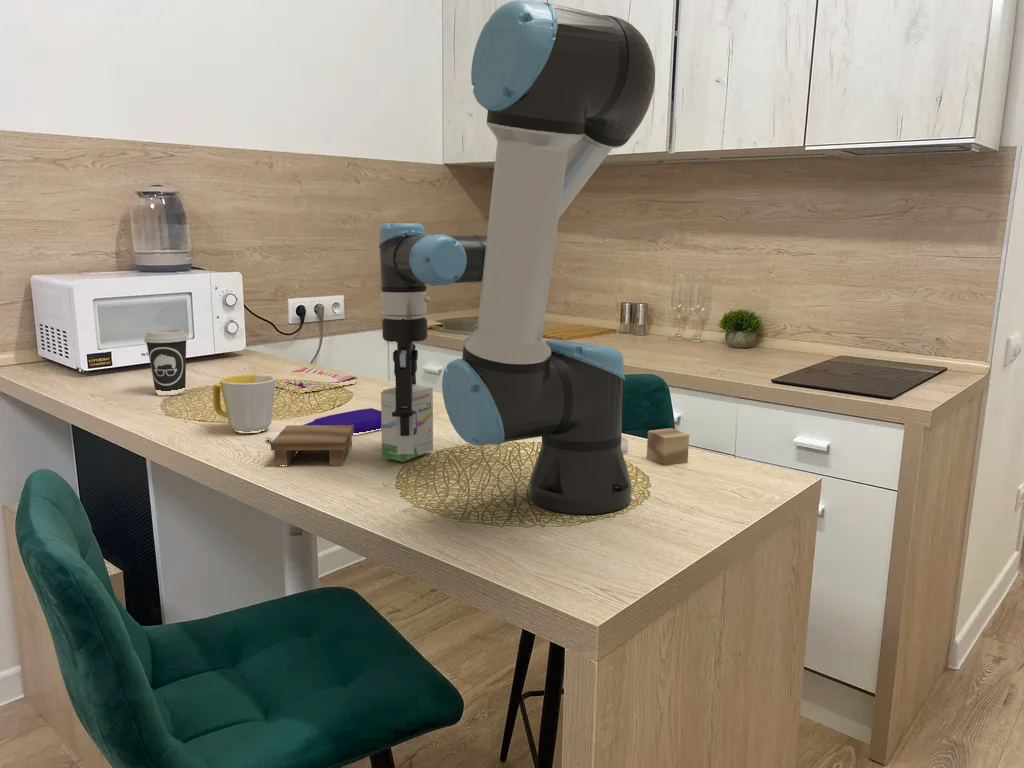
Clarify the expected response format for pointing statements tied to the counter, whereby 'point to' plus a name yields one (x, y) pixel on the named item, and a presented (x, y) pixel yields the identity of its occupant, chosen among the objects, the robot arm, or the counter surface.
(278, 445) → the stand
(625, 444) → the pale grey dome
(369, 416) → the purple bottle shape
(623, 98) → the robot arm
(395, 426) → the ink box
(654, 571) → the counter surface
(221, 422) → the counter surface
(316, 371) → the dish towel
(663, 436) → the oak block
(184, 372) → the coffee cup
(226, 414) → the mug
